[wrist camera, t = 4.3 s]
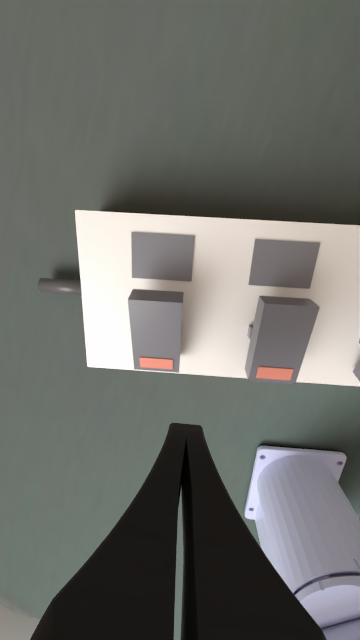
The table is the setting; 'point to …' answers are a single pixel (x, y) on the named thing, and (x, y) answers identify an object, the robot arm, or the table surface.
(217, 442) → the table surface
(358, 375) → the rocker
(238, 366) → the power strip
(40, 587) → the table surface
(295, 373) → the block
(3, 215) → the table surface
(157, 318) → the block
